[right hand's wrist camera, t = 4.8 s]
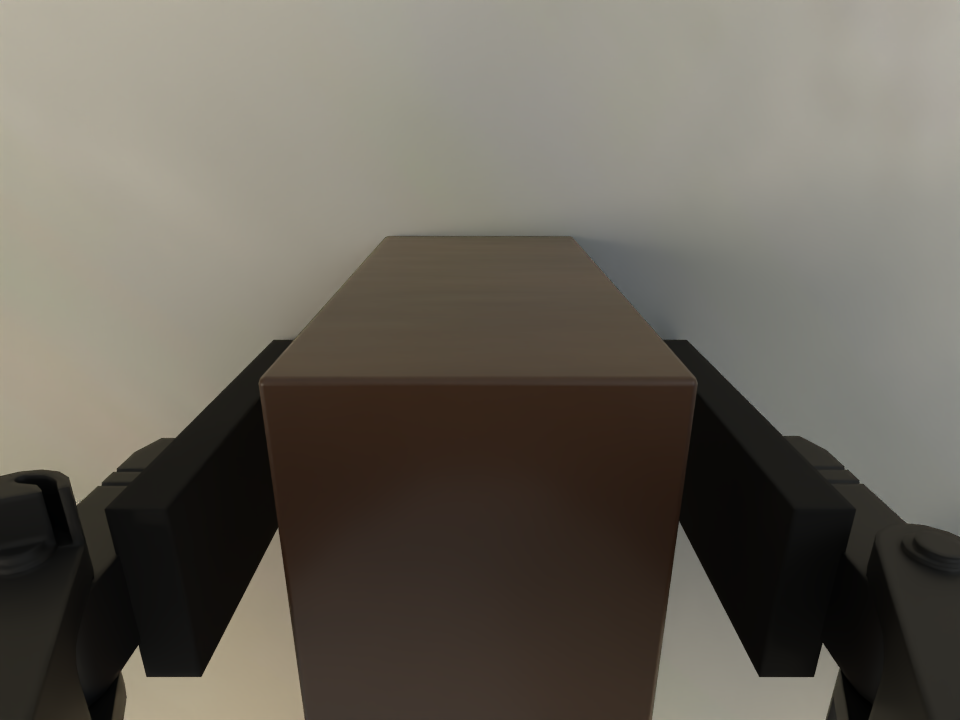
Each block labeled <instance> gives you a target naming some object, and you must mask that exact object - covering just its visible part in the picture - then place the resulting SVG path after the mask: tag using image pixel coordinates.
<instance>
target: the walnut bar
mask: <svg viewBox="0 0 960 720" xmlns="http://www.w3.org/2000/svg"><path fill="white" fill-rule="evenodd" d="M697 385H698V383H697V380H696V378H695V376H694V375H693V374H692V373H691V372H690V371H689V370H688V368H687V367H686V366H685V365H684V364H683V363H682V362H681V360H680V359H679V358H678V357H677V356H676V355H675V354H674V352H673V351H672V350H671V349H670V348H669V347H668V346H667V345H666V343H665V342H664V341H663V340H662V339H661V338H660V337H659V335H658V334H657V333H656V332H655V331H654V330H653V329H652V327H651V326H650V325H649V324H648V323H647V322H646V321H645V319H644V318H643V317H642V316H641V315H640V314H639V313H638V311H637V310H636V309H635V308H634V307H633V306H632V305H631V304H630V302H629V301H628V300H627V299H626V298H625V297H624V296H623V294H622V293H621V292H620V291H619V290H618V289H617V288H616V286H615V285H614V284H613V283H612V282H611V281H610V280H609V278H608V277H607V276H606V275H605V274H604V273H603V272H602V270H601V269H600V268H599V267H598V266H597V265H596V264H595V263H594V261H593V260H592V259H591V258H590V257H589V256H588V255H587V253H586V252H585V251H584V250H583V249H582V248H581V247H580V245H579V244H578V243H577V242H576V241H575V240H574V239H573V237H570V236H388V237H385V238H384V240H383V241H382V242H381V243H380V244H379V245H378V246H377V247H376V249H375V250H374V251H373V252H372V253H371V254H370V255H369V256H368V258H367V259H366V260H365V261H364V262H363V263H362V264H361V265H360V267H359V268H358V269H357V270H356V271H355V272H354V273H353V274H352V276H351V277H350V278H349V279H348V280H347V281H346V282H345V283H344V285H343V286H342V287H341V288H340V289H339V290H338V291H337V292H336V294H335V295H334V296H333V297H332V298H331V299H330V300H329V301H328V302H327V304H326V305H325V306H324V307H323V308H322V309H321V310H320V311H319V313H318V314H317V315H316V316H315V317H314V318H313V319H312V320H311V322H310V323H309V324H308V325H307V326H306V327H305V328H304V329H303V331H302V332H301V333H300V334H299V335H298V336H297V337H296V338H295V340H294V341H293V342H292V343H291V344H290V345H289V346H288V347H287V349H286V350H285V351H284V352H283V353H282V354H281V355H280V356H279V358H278V359H277V360H276V361H275V362H274V363H273V364H272V365H271V366H270V368H269V369H268V370H267V371H266V372H265V373H264V374H263V375H262V377H261V378H260V380H259V390H260V398H261V405H262V412H263V419H264V427H265V434H266V441H267V448H268V456H269V463H270V470H271V477H272V485H273V492H274V499H275V506H276V514H277V521H278V528H279V535H280V543H281V550H282V557H283V564H284V571H285V579H286V586H287V593H288V600H289V608H290V615H291V622H292V629H293V637H294V644H295V651H296V658H297V666H298V673H299V680H300V687H301V695H302V702H303V709H304V716H305V720H652V714H653V707H654V699H655V692H656V685H657V677H658V670H659V663H660V655H661V648H662V641H663V634H664V626H665V619H666V612H667V604H668V597H669V590H670V582H671V575H672V568H673V561H674V553H675V546H676V539H677V531H678V524H679V517H680V509H681V502H682V495H683V487H684V480H685V473H686V466H687V458H688V451H689V444H690V436H691V429H692V422H693V414H694V407H695V400H696V392H697Z"/></svg>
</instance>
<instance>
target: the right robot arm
mask: <svg viewBox="0 0 960 720" xmlns="http://www.w3.org/2000/svg"><path fill="white" fill-rule="evenodd" d="M293 341H294V340H273V341H272V342H271V343H270V344H269V345H268V346H267V347H266V348H265V349H264V350H263V351H262V352H261V353H260V354H259V355H258V356H257V357H256V358H255V359H254V360H253V361H252V362H251V363H250V364H249V365H248V366H247V367H246V368H245V369H244V370H243V371H242V372H241V373H240V374H239V375H238V376H237V377H236V378H235V379H234V380H233V381H232V382H231V383H230V384H229V385H228V386H227V387H226V388H225V389H224V390H223V391H222V392H221V393H220V394H219V395H218V396H217V397H216V398H215V399H214V400H213V401H212V402H211V403H210V404H209V405H208V406H207V407H206V408H205V409H204V410H203V411H202V412H201V413H200V414H199V415H198V416H197V417H196V418H195V419H194V420H193V421H192V422H191V423H190V424H189V425H188V426H187V427H186V428H185V429H184V430H183V431H182V432H181V433H180V434H179V435H178V436H177V437H176V438H161V439H159V440H157V441H155V442H153V443H151V444H149V445H148V446H146V447H144V448H142V449H140V450H138V451H136V452H134V453H133V454H132V455H131V456H130V457H129V458H128V459H127V460H126V461H125V462H124V463H123V464H121V465H120V466H119V467H118V468H117V472H113V473H112V474H111V475H110V476H108V477H107V478H106V479H105V480H104V481H103V482H102V486H98V487H96V488H95V489H94V490H93V491H92V492H91V493H90V494H89V495H88V496H87V497H86V498H85V499H83V500H82V501H81V502H80V503H79V504H78V505H77V506H76V502H75V498H74V495H73V491H72V487H71V484H70V480H69V477H67V476H66V475H64V474H62V473H61V472H58V471H50V470H33V471H22V472H16V473H12V474H8V475H4V476H0V720H123V719H124V712H125V705H126V698H127V696H126V689H125V683H124V680H123V676H122V672H121V670H122V669H123V667H124V666H125V664H126V663H127V661H128V660H129V658H130V657H131V655H132V654H133V652H134V651H135V649H136V648H137V646H138V645H139V649H140V653H141V657H142V661H143V665H144V669H145V673H146V676H147V677H201V676H202V674H203V673H204V671H205V669H206V667H207V665H208V663H209V661H210V659H211V657H212V655H213V653H214V651H215V649H216V647H217V645H218V643H219V641H220V639H221V637H222V636H223V634H224V632H225V630H226V628H227V626H228V624H229V622H230V620H231V618H232V616H233V614H234V612H235V610H236V608H237V606H238V604H239V602H240V600H241V598H242V597H243V595H244V593H245V591H246V589H247V587H248V585H249V583H250V581H251V579H252V577H253V575H254V573H255V571H256V569H257V567H258V565H259V563H260V561H261V559H262V558H263V556H264V554H265V552H266V550H267V548H268V546H269V544H270V542H271V540H272V538H273V536H274V534H275V532H276V530H277V528H278V521H277V514H276V506H275V499H274V492H273V485H272V477H271V470H270V463H269V456H268V448H267V441H266V434H265V427H264V419H263V412H262V405H261V398H260V390H259V380H260V378H261V377H262V375H263V374H264V373H265V372H266V371H267V370H268V369H269V368H270V366H271V365H272V364H273V363H274V362H275V361H276V360H277V359H278V358H279V356H280V355H281V354H282V353H283V352H284V351H285V350H286V349H287V347H288V346H289V345H290V344H291V343H292V342H293ZM663 341H664V342H665V343H666V345H667V346H668V347H669V348H670V349H671V350H672V351H673V352H674V354H675V355H676V356H677V357H678V358H679V359H680V360H681V362H682V363H683V364H684V365H685V366H686V367H687V368H688V370H689V371H690V372H691V373H692V374H693V375H694V376H695V378H696V380H697V383H698V385H697V392H696V400H695V407H694V414H693V422H692V429H691V436H690V444H689V451H688V458H687V466H686V473H685V480H684V487H683V495H682V502H681V509H680V517H679V522H680V523H681V525H682V527H683V529H684V531H685V533H686V535H687V537H688V539H689V541H690V543H691V545H692V547H693V549H694V551H695V553H696V555H697V557H698V559H699V560H700V562H701V564H702V566H703V568H704V570H705V572H706V574H707V576H708V578H709V580H710V582H711V584H712V586H713V588H714V590H715V592H716V594H717V596H718V597H719V599H720V601H721V603H722V605H723V607H724V609H725V611H726V613H727V615H728V617H729V619H730V621H731V623H732V625H733V627H734V629H735V631H736V633H737V634H738V636H739V638H740V640H741V642H742V644H743V646H744V648H745V650H746V652H747V654H748V656H749V658H750V660H751V662H752V664H753V666H754V668H755V670H756V672H757V673H758V675H759V677H814V675H815V671H816V667H817V663H818V659H819V655H820V651H821V647H822V643H823V644H824V645H825V647H826V648H827V650H828V651H829V653H830V654H831V656H832V657H833V659H834V660H835V661H836V663H837V664H838V666H839V667H840V669H839V672H838V676H837V680H836V683H835V687H834V691H833V695H832V698H831V702H830V706H829V709H828V713H827V717H826V720H960V537H959V536H956V535H954V534H952V533H950V532H947V531H943V530H940V529H936V528H932V527H929V526H925V525H917V524H908V523H905V522H904V521H903V520H902V519H901V518H900V517H899V516H898V515H897V514H896V513H895V512H893V511H892V510H891V509H890V508H889V507H888V506H887V505H886V504H885V503H884V502H882V501H881V500H880V499H879V498H878V497H877V496H876V495H875V494H874V493H873V492H872V491H870V490H869V489H868V488H867V487H866V486H865V485H864V484H860V483H859V480H858V479H857V478H856V477H855V476H854V475H853V474H852V473H851V472H850V471H849V470H845V469H844V466H843V465H842V464H841V463H840V462H839V461H838V460H837V459H835V458H834V457H833V456H832V455H831V454H830V453H829V452H828V451H827V450H825V449H823V448H821V447H819V446H817V445H816V444H814V443H812V442H810V441H808V440H806V439H804V438H802V437H800V436H782V435H781V434H780V433H779V432H778V431H777V430H776V429H775V428H774V427H773V426H772V425H771V424H770V423H769V422H768V421H767V420H766V419H765V418H764V417H763V416H762V415H761V414H760V413H759V412H758V411H757V410H756V409H755V408H754V407H753V406H752V405H751V404H750V403H749V402H748V401H747V400H746V399H745V398H744V397H743V396H742V395H741V394H740V393H739V392H738V391H737V390H736V389H735V388H734V387H733V386H732V385H731V384H730V383H729V382H728V381H727V380H726V379H725V378H724V377H723V376H722V375H721V374H720V373H719V372H718V371H717V370H716V369H715V368H714V367H713V366H712V365H711V364H710V363H709V362H708V361H707V360H706V359H705V358H704V357H703V356H702V355H701V354H700V353H699V352H698V351H697V350H696V349H695V348H694V347H693V346H692V345H691V344H690V343H689V342H688V341H687V340H663Z"/></svg>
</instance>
